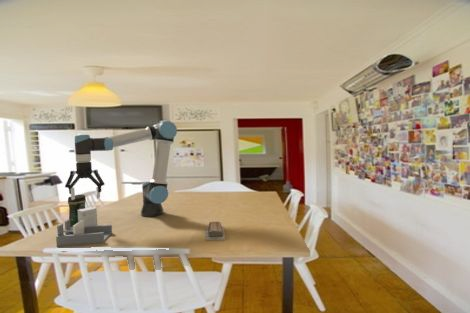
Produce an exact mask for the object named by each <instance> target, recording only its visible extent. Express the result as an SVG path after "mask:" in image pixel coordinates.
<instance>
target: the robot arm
mask: <svg viewBox="0 0 470 313" xmlns="http://www.w3.org/2000/svg"><path fill="white" fill-rule="evenodd" d="M177 133H178V128H177V126H176V124H175V123H174V122H172V121H171V120H163V121H160V122H158V123H155V124H153V125H150V126H149V125H148V126H146V128H143V129H138V130H133V131H129V132H125V133H123V132H122V133H118V134H115V135H110V136H106V137H90V135H89V134H76V135H75V136H74V151H75V162H76V163H75V166H76V167H75V169H76V170H71V171H70V172H69V177H68V178H67V181H66V183H65V185H64V188H67V189H68V192H69V193H68V194H70V197H71V200H74V199H75V195H76V193H75V192H76V191H75V185H76V184H77V183H78V181H79V180H80V179H89V180H90V181H92V182H93V183H94V184H95V186H96V188H95V189H96V200H97V199H100V198H101V193H102V186H105V182H104V180H103V178H102V177H101V176H100V173H99V171H98V169H93V168H92V167H93V166H92V162H91V161H92V152H103V151H106V152H108V151H113V150H114V149H115V148H118V147H122V146H123V147H124V146H126V145H130V144H135V143H139V142H140V143H141V142H143V141H149V140H150V141H154V140H155V141H156V150H155V157H154V164H153V169H152V178H151V179H150V180H149V181H145V182H143V183H142V185H141V187H142V203H143V204H142V207H141V210H140V216H141V217H146V218H150V217H157V216H160V215H163V214H164V208H163V206H162V203H164V202H165V201H167V199H168V198H169V191H168V181H167V180H166V179H167V172H168V167H169V160H170V159H169V158H170V153H171V152H170V150H171V145H172V144H174V139H175V137H176V136H177ZM75 174H76V177H75ZM93 174H94V176H95V177H94V176H93ZM74 177H75V178H74ZM73 179H74V180H73Z"/></svg>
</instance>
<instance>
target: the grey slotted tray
mask: <svg viewBox="0 0 470 313" xmlns="http://www.w3.org/2000/svg"><path fill="white" fill-rule="evenodd" d="M56 226H57V227H56V228H57V236H55V241H56V247H63V246H64V247H66V246H77V245H78V246H79V245H90V244H100V243H102V244H103V243H105V242H106V240H107V239H109V238H110V236H111V235H112V234H113V225H112V224H105V225H104V224H103V225H98V226H87V227H84V231H85V234H74V235H73V232H66V233H65V234H64V232H63V230H73V227H72V226H70V219H69V218H68V219H66V220H65V221H64V223H60V224H58V225H56Z"/></svg>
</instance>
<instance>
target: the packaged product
mask: <svg viewBox="0 0 470 313" xmlns="http://www.w3.org/2000/svg"><path fill="white" fill-rule="evenodd" d="M225 239H226V235H225V230H224V226H222V223H221V222H220V221H209V224H208V226H206V227H205V242H207V241H220V240H224V241H225Z"/></svg>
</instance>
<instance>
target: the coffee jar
mask: <svg viewBox="0 0 470 313" xmlns="http://www.w3.org/2000/svg"><path fill="white" fill-rule="evenodd" d="M86 201H87V199H86V195H85V194H75V199H74V200H71V196H69V197H68V198H67V205H68V208H69V209H68V219H70V227H73V225H75V224H76V223H78V210H80V209H84V208H86Z"/></svg>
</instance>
